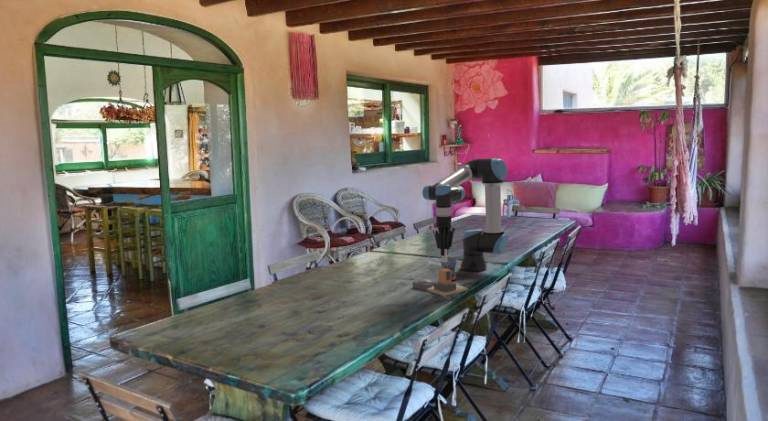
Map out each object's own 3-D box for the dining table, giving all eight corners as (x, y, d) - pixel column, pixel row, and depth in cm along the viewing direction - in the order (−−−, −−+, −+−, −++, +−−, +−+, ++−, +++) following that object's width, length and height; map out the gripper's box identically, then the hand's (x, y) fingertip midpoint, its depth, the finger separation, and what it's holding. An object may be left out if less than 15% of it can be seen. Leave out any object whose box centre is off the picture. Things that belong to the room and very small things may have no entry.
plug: (444, 287, 293) (444, 268, 292) (452, 289, 289) (451, 270, 287) (438, 288, 291) (438, 269, 290) (446, 291, 286) (445, 271, 285)
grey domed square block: (425, 283, 307) (425, 276, 306) (439, 286, 300) (439, 279, 299) (412, 287, 300) (412, 280, 299) (426, 290, 293) (426, 283, 292)
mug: (451, 282, 307) (451, 263, 305) (436, 280, 313) (436, 261, 311) (463, 277, 316) (462, 259, 315) (448, 275, 322) (448, 257, 320)
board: (447, 284, 304) (447, 276, 303) (467, 290, 291) (467, 282, 290) (423, 289, 295) (423, 281, 295) (443, 296, 282) (443, 287, 281)
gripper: (448, 213, 292) (449, 258, 295) (428, 216, 285) (429, 262, 288) (458, 214, 286) (459, 261, 289) (438, 217, 278) (439, 265, 282)
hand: (444, 261), depth 288 cm, fingers closed
